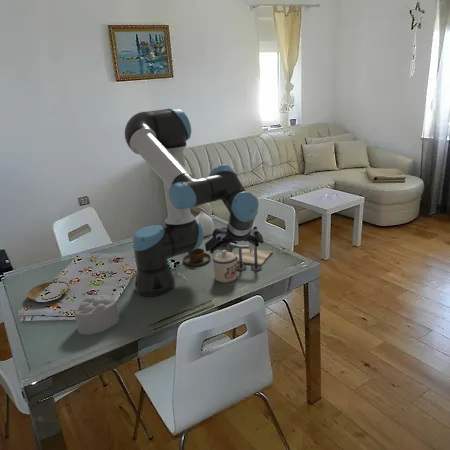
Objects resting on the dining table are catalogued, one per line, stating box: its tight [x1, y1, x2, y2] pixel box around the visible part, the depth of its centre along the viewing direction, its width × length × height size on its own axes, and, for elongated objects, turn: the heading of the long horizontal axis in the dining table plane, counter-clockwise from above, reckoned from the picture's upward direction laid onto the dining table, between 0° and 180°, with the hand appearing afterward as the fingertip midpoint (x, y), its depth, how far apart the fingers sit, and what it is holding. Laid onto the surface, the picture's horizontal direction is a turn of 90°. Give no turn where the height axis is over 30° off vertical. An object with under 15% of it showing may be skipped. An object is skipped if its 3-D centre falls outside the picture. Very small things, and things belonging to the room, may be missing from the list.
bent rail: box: [226, 243, 263, 272], centre depth 169 cm, size 6×16×10 cm, turn 64°
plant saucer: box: [26, 280, 70, 302], centre depth 159 cm, size 15×15×3 cm
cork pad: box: [235, 248, 273, 267], centre depth 180 cm, size 14×14×1 cm
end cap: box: [212, 226, 238, 244], centre depth 196 cm, size 10×7×7 cm
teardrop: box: [195, 210, 215, 237], centre depth 211 cm, size 11×11×12 cm
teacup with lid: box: [212, 249, 239, 284], centre depth 162 cm, size 12×9×12 cm
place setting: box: [182, 246, 233, 270], centre depth 178 cm, size 18×20×6 cm
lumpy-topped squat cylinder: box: [73, 294, 120, 335], centre depth 137 cm, size 10×13×9 cm
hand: (232, 252), depth 150 cm, fingers open, 13 cm apart
